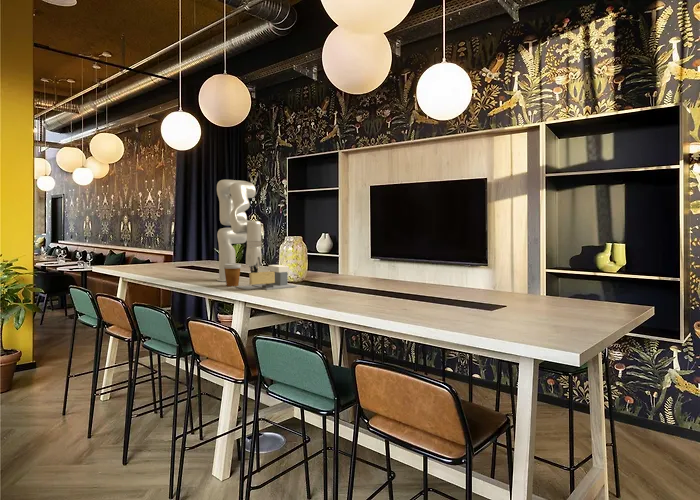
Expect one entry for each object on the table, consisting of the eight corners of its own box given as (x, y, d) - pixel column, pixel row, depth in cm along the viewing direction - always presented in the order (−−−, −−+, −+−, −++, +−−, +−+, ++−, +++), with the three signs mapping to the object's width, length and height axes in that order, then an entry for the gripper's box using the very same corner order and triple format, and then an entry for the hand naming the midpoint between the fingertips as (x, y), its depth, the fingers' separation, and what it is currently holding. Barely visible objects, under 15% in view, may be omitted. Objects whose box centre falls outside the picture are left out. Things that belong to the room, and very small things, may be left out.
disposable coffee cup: (243, 284, 260) (243, 263, 259) (238, 287, 250) (237, 265, 250) (227, 284, 261) (227, 263, 260) (220, 286, 251) (220, 264, 251)
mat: (235, 287, 250) (235, 286, 250) (249, 285, 255) (249, 285, 255) (245, 290, 240) (245, 289, 240) (260, 288, 245) (260, 288, 245)
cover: (268, 270, 261) (268, 265, 261) (278, 269, 265) (278, 264, 265) (278, 272, 252) (278, 266, 251) (289, 271, 255) (289, 266, 255)
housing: (251, 286, 255) (251, 271, 255) (280, 283, 266) (280, 269, 266) (266, 289, 241) (266, 274, 241) (296, 287, 252) (296, 272, 252)
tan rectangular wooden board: (249, 285, 240) (249, 272, 240) (272, 284, 249) (272, 271, 248) (251, 286, 238) (251, 273, 238) (274, 284, 247) (274, 271, 246)
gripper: (241, 243, 248) (241, 277, 249) (254, 245, 236) (254, 280, 237) (254, 243, 253) (254, 277, 254) (267, 244, 241) (267, 279, 242)
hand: (254, 278), depth 246 cm, fingers closed
